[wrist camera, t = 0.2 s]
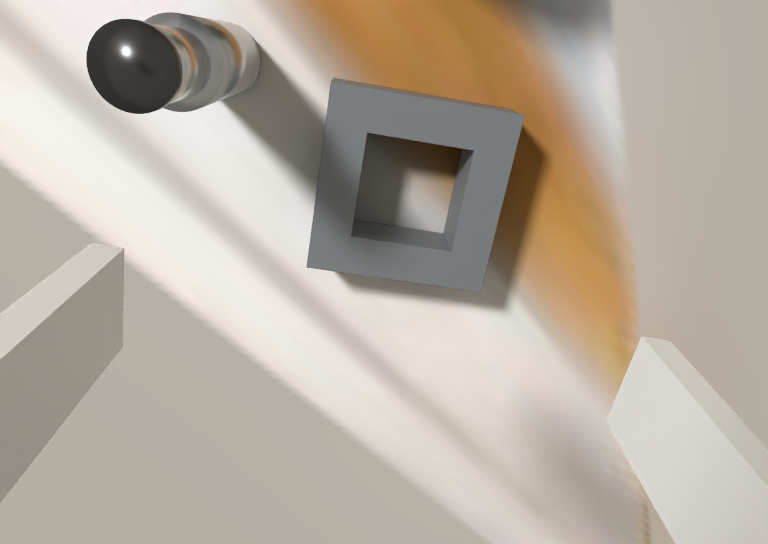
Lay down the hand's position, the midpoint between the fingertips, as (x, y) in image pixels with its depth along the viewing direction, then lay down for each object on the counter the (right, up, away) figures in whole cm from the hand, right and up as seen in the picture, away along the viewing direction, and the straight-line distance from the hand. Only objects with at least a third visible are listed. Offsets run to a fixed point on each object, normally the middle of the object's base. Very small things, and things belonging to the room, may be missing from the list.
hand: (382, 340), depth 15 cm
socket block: (+2, +8, +26) cm, 27 cm away
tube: (-10, +16, +23) cm, 29 cm away
